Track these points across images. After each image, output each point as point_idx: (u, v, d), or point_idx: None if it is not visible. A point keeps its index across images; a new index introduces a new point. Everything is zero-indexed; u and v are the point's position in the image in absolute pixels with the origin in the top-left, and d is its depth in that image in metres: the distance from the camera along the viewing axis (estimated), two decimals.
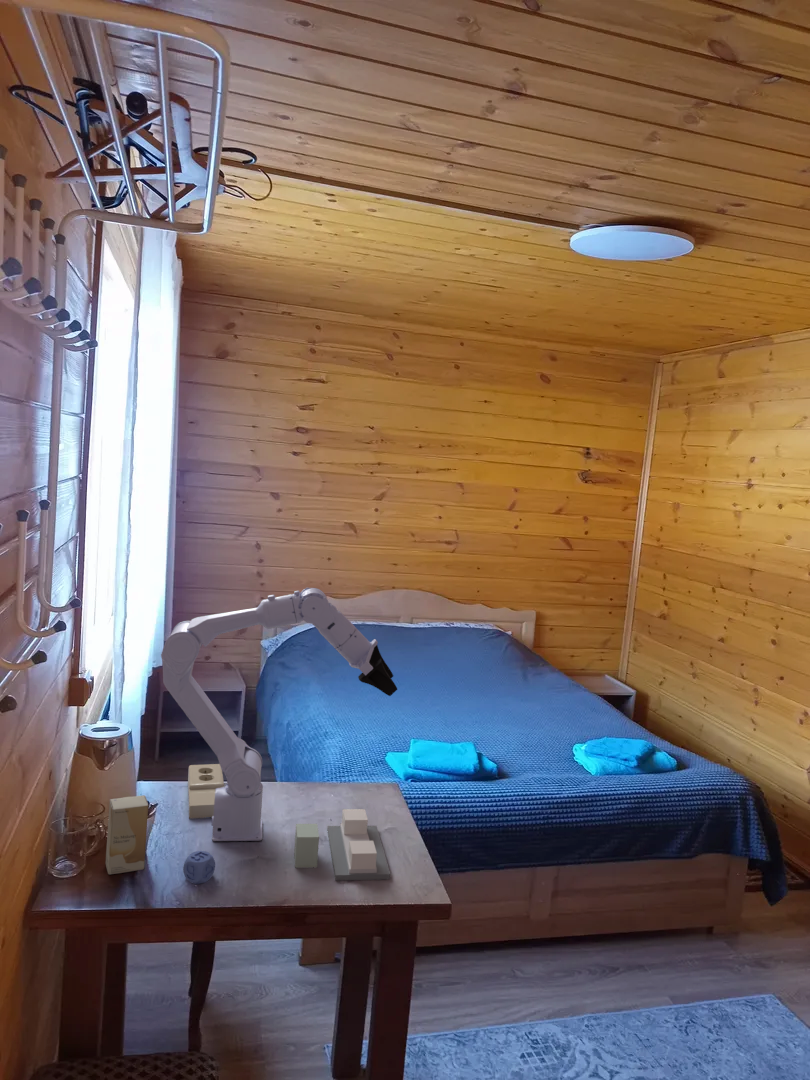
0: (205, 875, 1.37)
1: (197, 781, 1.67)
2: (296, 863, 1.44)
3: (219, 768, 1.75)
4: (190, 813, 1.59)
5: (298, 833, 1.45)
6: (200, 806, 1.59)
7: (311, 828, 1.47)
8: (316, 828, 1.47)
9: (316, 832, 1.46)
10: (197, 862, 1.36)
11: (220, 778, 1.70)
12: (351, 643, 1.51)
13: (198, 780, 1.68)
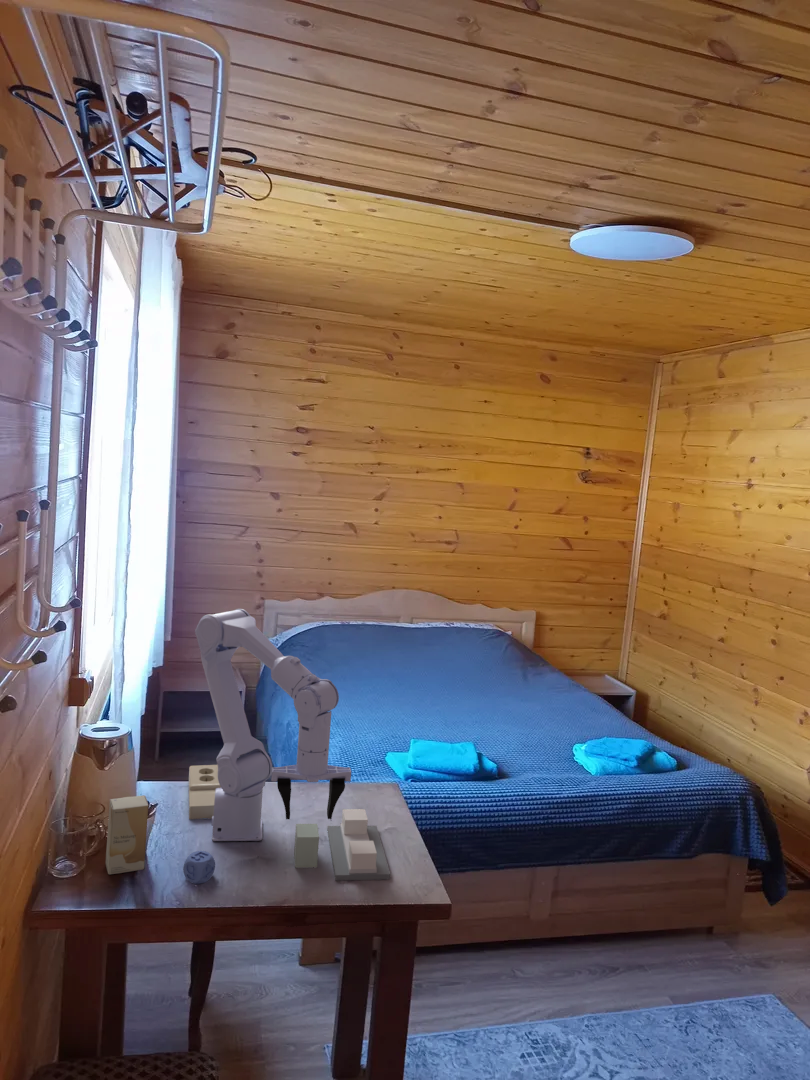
0: (205, 875, 1.37)
1: (197, 782, 1.67)
2: (296, 863, 1.44)
3: None
4: (190, 814, 1.58)
5: (298, 833, 1.45)
6: (200, 806, 1.59)
7: (311, 828, 1.47)
8: (316, 828, 1.47)
9: (316, 832, 1.46)
10: (197, 862, 1.36)
11: None
12: (298, 753, 1.43)
13: (198, 781, 1.68)
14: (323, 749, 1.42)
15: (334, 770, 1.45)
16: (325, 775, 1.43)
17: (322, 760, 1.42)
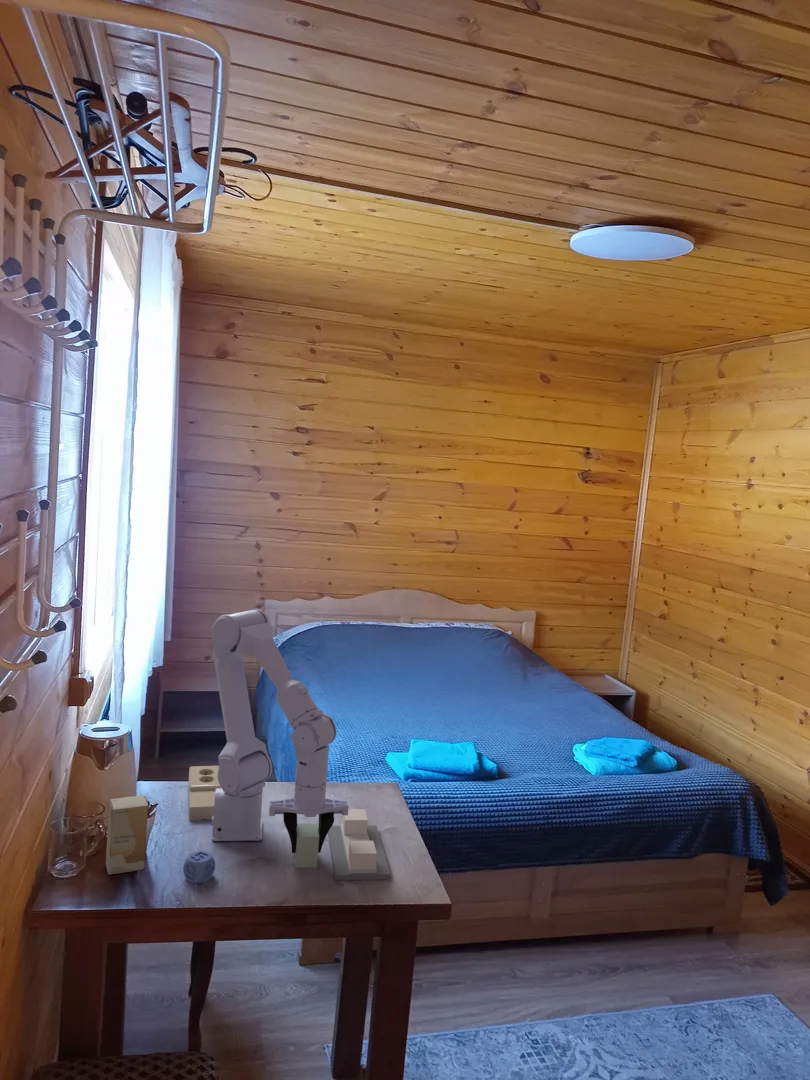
0: (205, 875, 1.37)
1: (197, 783, 1.67)
2: (296, 863, 1.44)
3: None
4: (190, 814, 1.58)
5: (298, 833, 1.45)
6: (200, 807, 1.58)
7: (311, 828, 1.47)
8: (316, 828, 1.47)
9: (316, 832, 1.46)
10: (197, 862, 1.36)
11: None
12: (295, 787, 1.44)
13: (199, 781, 1.67)
14: (321, 784, 1.43)
15: (331, 804, 1.46)
16: (322, 809, 1.44)
17: (320, 795, 1.43)
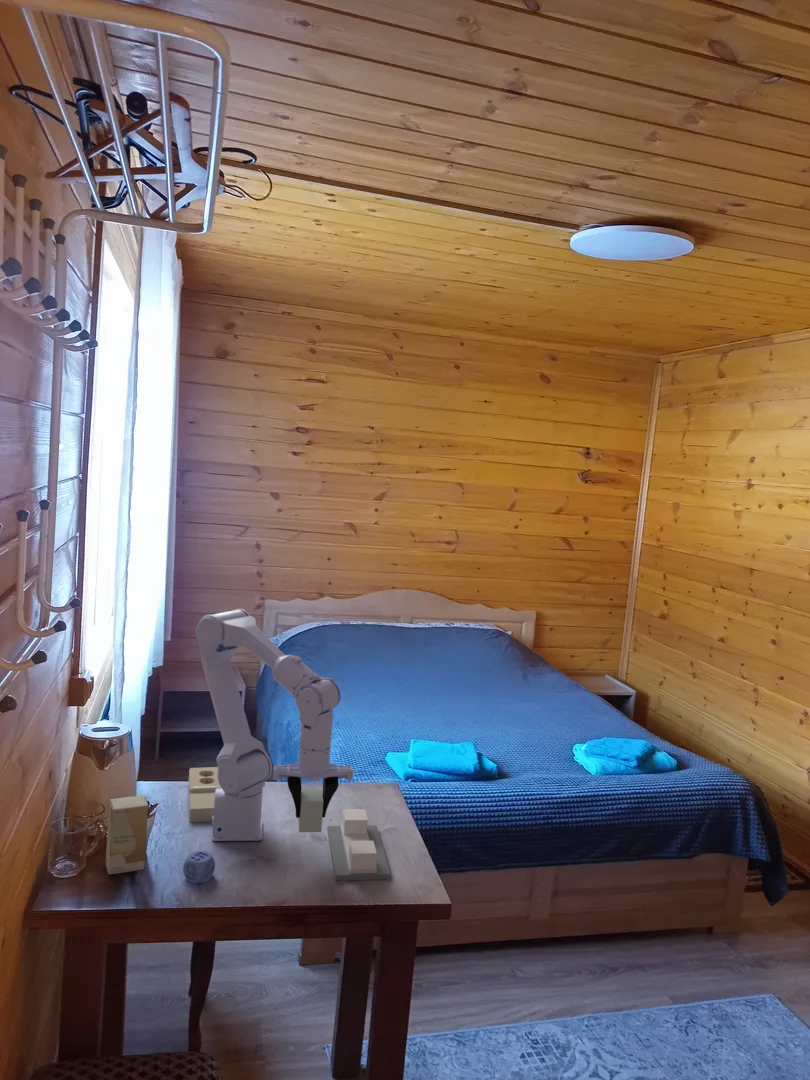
0: (205, 875, 1.37)
1: (198, 784, 1.66)
2: (300, 827, 1.43)
3: None
4: (190, 816, 1.57)
5: (302, 797, 1.44)
6: (200, 809, 1.58)
7: (315, 793, 1.46)
8: (320, 793, 1.46)
9: (320, 797, 1.45)
10: (197, 862, 1.36)
11: None
12: (299, 751, 1.43)
13: (199, 783, 1.67)
14: (325, 747, 1.42)
15: (336, 769, 1.45)
16: (327, 773, 1.43)
17: (324, 759, 1.42)
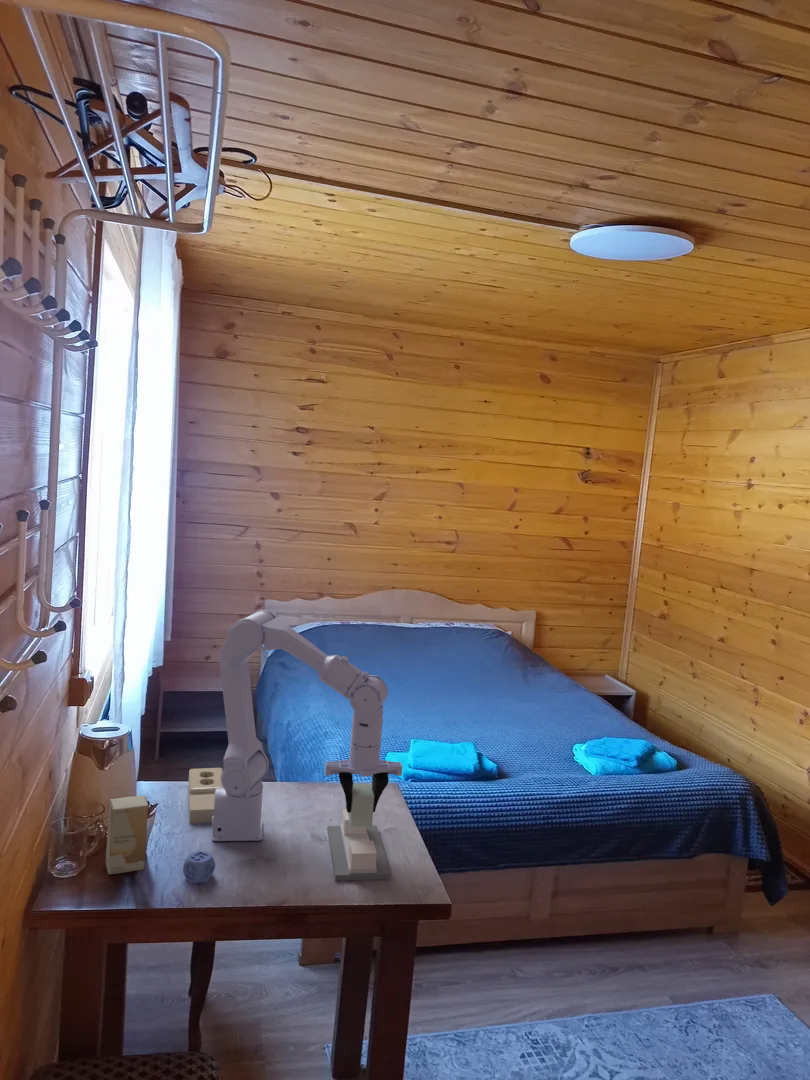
0: (205, 875, 1.37)
1: (198, 785, 1.65)
2: (352, 822, 1.47)
3: (220, 772, 1.73)
4: (190, 818, 1.57)
5: (353, 792, 1.48)
6: (200, 810, 1.57)
7: (366, 788, 1.50)
8: (370, 788, 1.50)
9: (371, 792, 1.49)
10: (197, 862, 1.36)
11: None
12: (351, 747, 1.47)
13: (199, 784, 1.66)
14: (379, 742, 1.47)
15: (385, 764, 1.49)
16: (378, 769, 1.47)
17: (375, 755, 1.46)
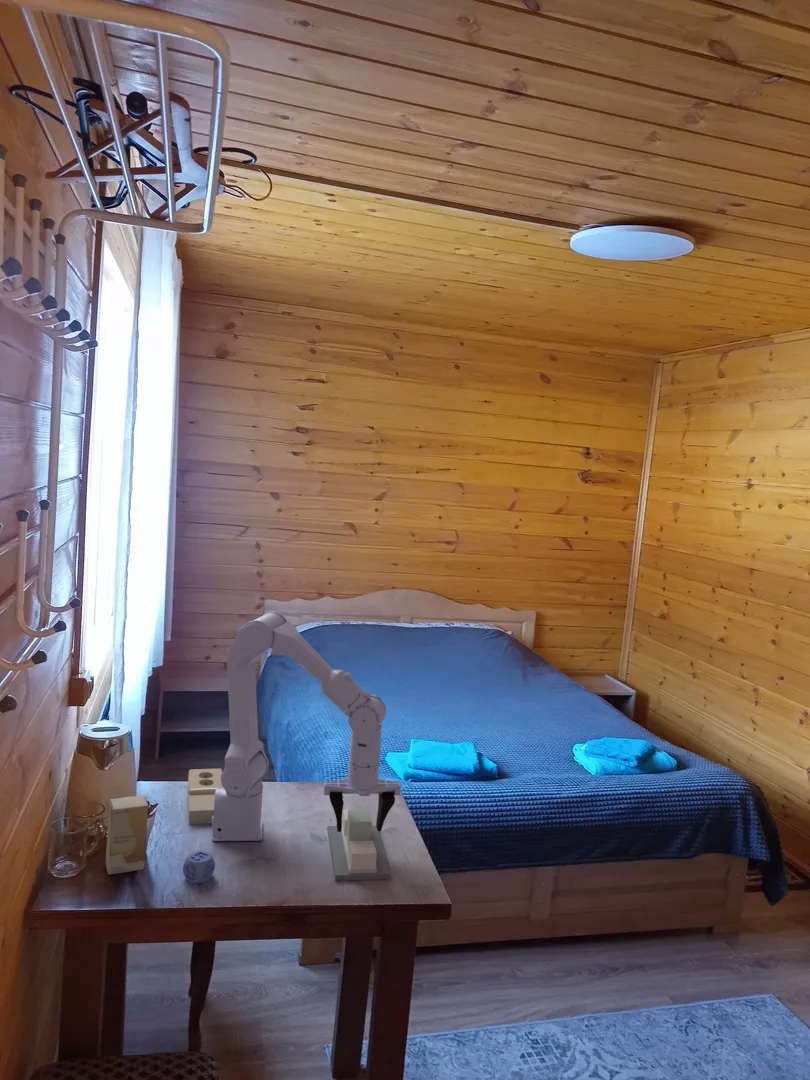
0: (205, 875, 1.37)
1: (197, 786, 1.65)
2: None
3: (219, 773, 1.73)
4: (190, 818, 1.57)
5: (351, 818, 1.48)
6: (200, 811, 1.57)
7: (363, 813, 1.50)
8: (368, 813, 1.51)
9: (368, 817, 1.49)
10: (197, 862, 1.36)
11: (220, 783, 1.68)
12: (349, 767, 1.47)
13: (198, 785, 1.66)
14: (377, 762, 1.47)
15: (384, 784, 1.50)
16: (376, 789, 1.47)
17: (374, 775, 1.47)
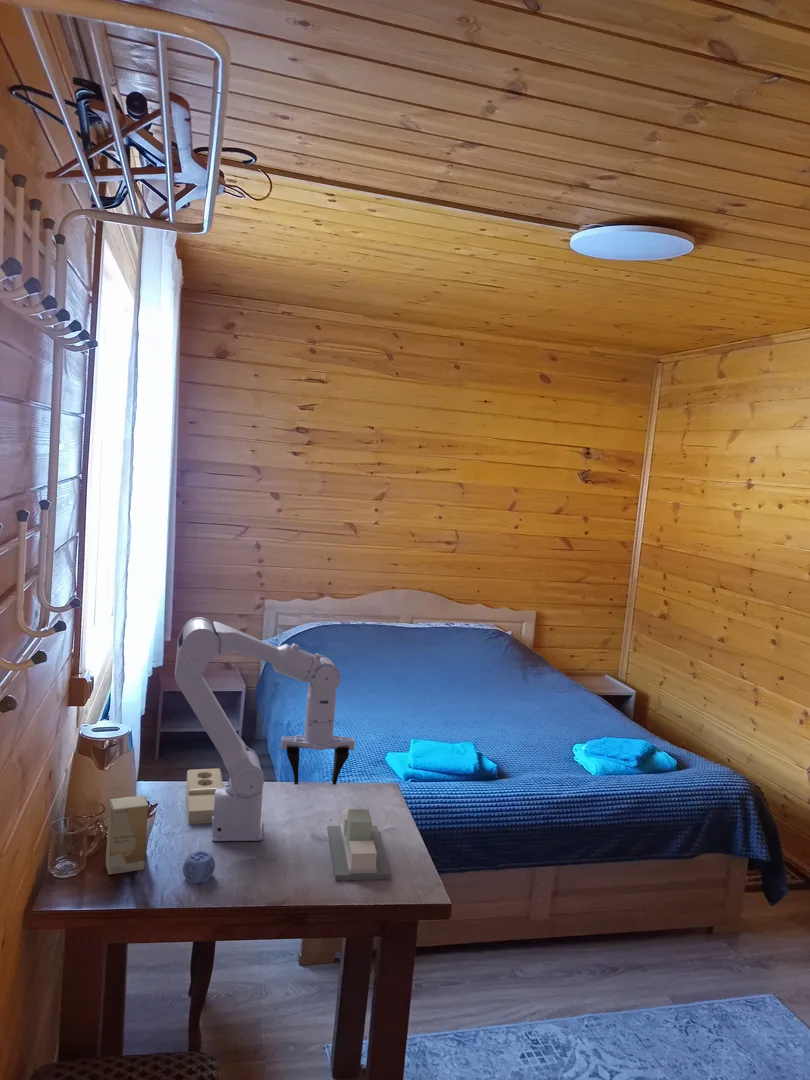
0: (205, 875, 1.37)
1: (196, 786, 1.65)
2: None
3: (218, 773, 1.72)
4: (189, 819, 1.56)
5: (351, 818, 1.48)
6: (199, 811, 1.57)
7: (363, 813, 1.50)
8: (368, 813, 1.51)
9: (368, 817, 1.49)
10: (197, 862, 1.36)
11: (219, 783, 1.68)
12: (305, 723, 1.56)
13: (197, 785, 1.66)
14: None
15: (339, 740, 1.58)
16: (330, 744, 1.56)
17: (328, 730, 1.55)
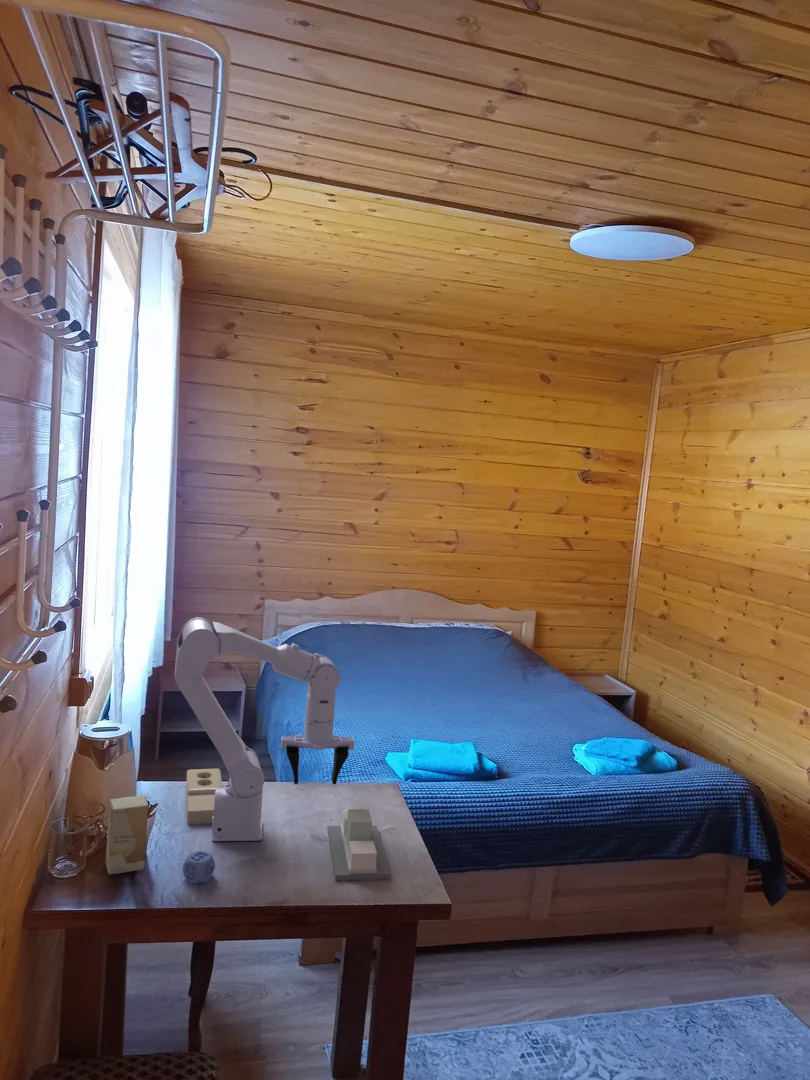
0: (205, 875, 1.37)
1: (195, 786, 1.65)
2: None
3: (218, 773, 1.72)
4: (188, 818, 1.56)
5: (351, 818, 1.48)
6: (198, 811, 1.57)
7: (363, 813, 1.50)
8: (368, 813, 1.51)
9: (368, 817, 1.49)
10: (197, 862, 1.36)
11: (219, 783, 1.68)
12: (305, 723, 1.56)
13: (196, 785, 1.66)
14: (333, 716, 1.57)
15: (338, 739, 1.58)
16: (330, 743, 1.56)
17: (328, 730, 1.55)
